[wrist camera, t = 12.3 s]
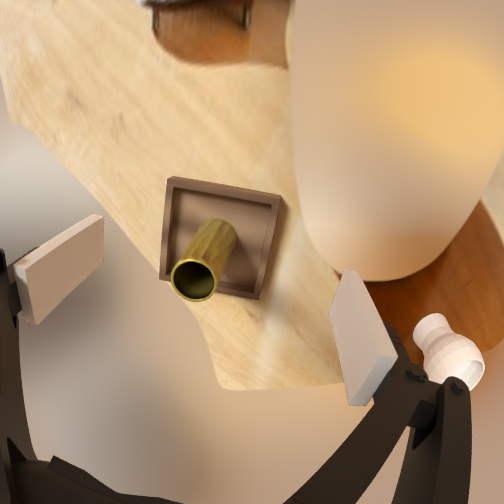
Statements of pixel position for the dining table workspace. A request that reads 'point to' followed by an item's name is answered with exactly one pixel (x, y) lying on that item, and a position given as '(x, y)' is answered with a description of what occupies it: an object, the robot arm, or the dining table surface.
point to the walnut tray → (230, 210)
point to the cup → (447, 352)
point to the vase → (204, 260)
